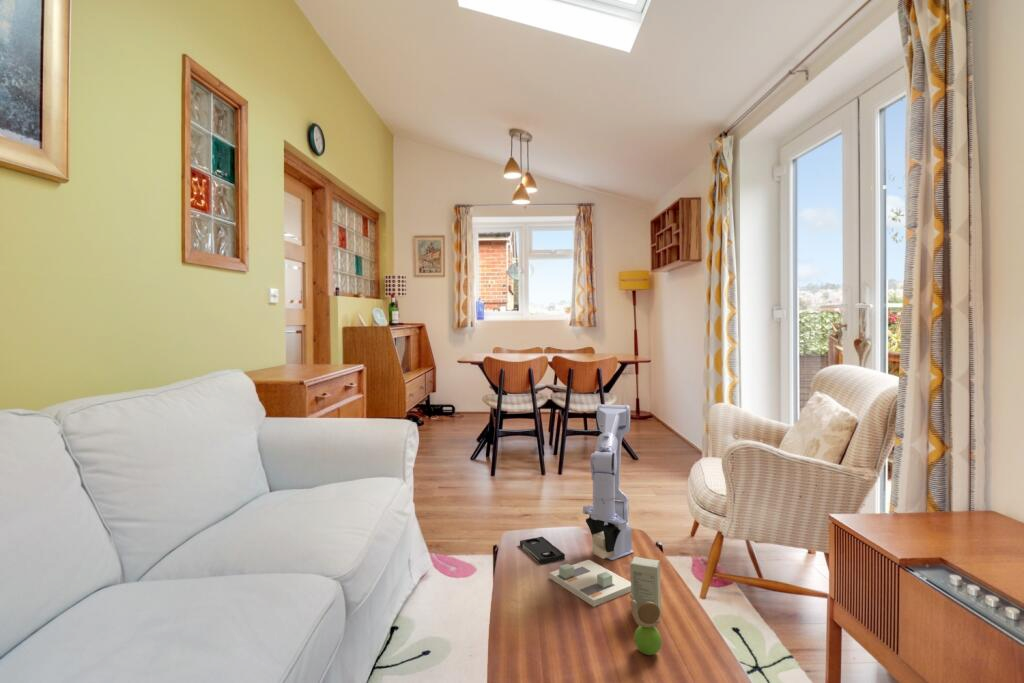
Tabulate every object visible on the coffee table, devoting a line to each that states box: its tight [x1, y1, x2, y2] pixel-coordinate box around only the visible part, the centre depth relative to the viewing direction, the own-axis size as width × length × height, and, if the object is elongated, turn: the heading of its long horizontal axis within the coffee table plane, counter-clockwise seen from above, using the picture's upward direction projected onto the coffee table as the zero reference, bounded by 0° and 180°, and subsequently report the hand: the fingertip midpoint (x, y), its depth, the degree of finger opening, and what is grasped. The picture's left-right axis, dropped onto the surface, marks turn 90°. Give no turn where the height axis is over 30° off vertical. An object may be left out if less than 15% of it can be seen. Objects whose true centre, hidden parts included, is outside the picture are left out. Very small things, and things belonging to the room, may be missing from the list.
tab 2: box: [597, 572, 612, 588], centre depth 126 cm, size 3×2×2 cm
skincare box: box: [629, 556, 662, 620], centre depth 116 cm, size 6×4×12 cm
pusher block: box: [592, 532, 614, 560], centre depth 132 cm, size 4×4×5 cm
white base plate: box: [549, 559, 631, 608], centre depth 130 cm, size 14×17×2 cm
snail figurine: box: [629, 593, 663, 656], centre depth 102 cm, size 5×6×12 cm
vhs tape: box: [519, 536, 566, 565], centre depth 149 cm, size 14×8×2 cm, turn 24°
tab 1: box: [558, 563, 574, 579], centre depth 131 cm, size 3×2×2 cm
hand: (603, 548), depth 132 cm, fingers closed on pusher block, 4 cm apart
